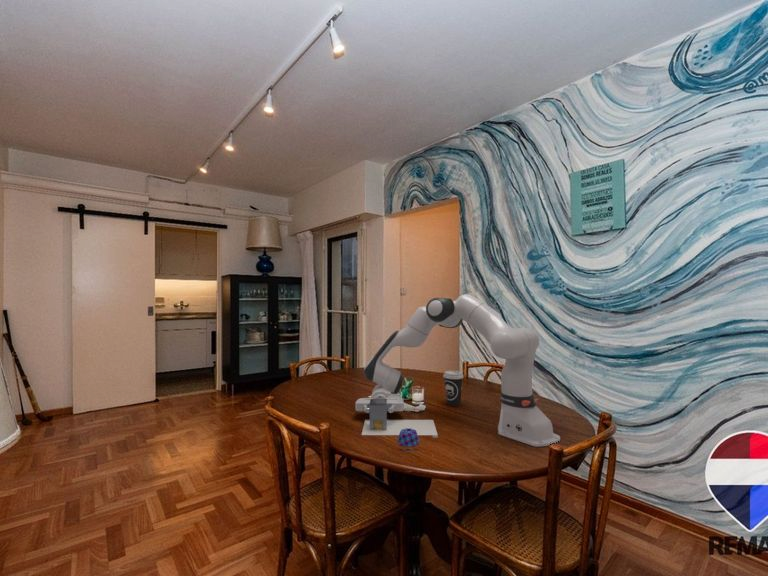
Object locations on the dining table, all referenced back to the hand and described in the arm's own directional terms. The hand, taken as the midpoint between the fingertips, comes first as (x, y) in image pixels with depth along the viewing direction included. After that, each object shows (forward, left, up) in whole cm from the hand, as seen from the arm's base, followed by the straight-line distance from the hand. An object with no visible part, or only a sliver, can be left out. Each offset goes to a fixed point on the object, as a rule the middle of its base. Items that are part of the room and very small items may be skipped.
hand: (378, 410), depth 143 cm
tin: (-2, +1, -5) cm, 6 cm away
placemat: (-6, -6, -6) cm, 11 cm away
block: (-2, +1, -5) cm, 6 cm away
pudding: (-20, -1, -7) cm, 21 cm away
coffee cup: (+9, -45, -7) cm, 46 cm away
